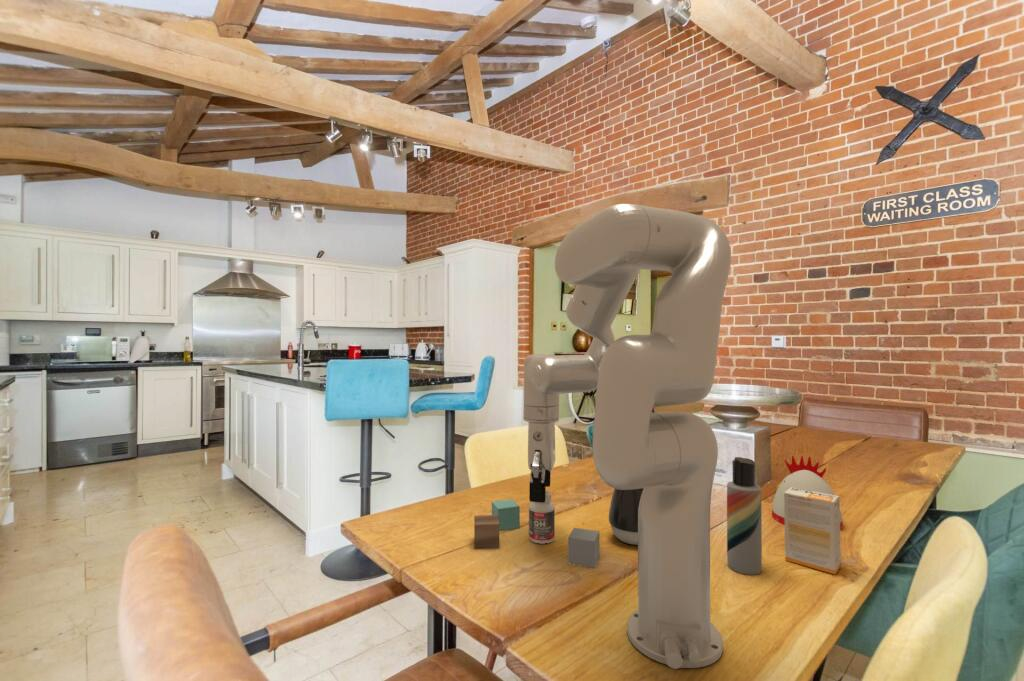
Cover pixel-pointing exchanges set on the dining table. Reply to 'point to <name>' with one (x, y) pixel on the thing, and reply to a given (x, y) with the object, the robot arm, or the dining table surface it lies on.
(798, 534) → the supplement box
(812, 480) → the kitchen timer
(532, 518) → the pill bottle
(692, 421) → the robot arm
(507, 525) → the teal block
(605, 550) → the dining table surface
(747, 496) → the lotion bottle
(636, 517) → the pump dispenser
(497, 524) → the walnut block
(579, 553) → the slate-grey block
